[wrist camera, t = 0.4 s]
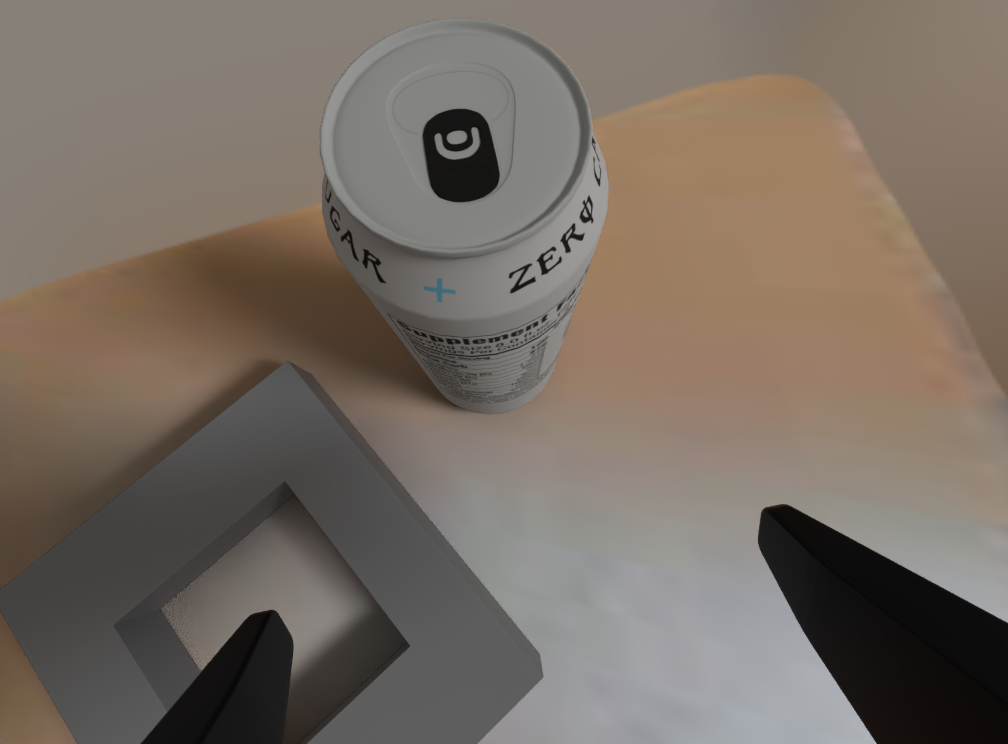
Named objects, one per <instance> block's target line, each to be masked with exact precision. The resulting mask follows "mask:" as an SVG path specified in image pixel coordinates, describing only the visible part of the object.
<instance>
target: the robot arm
mask: <svg viewBox="0 0 1008 744" xmlns="http://www.w3.org/2000/svg"><path fill="white" fill-rule="evenodd" d="M758 544H759V548H760V551H761V553H762V555H763V557H764V558H765V560H766V562H767V564H768V566H769V568H770V570H771V572H772V574H773V575H774V577H775V579H776V581H777V583H778V585H779V587H780V589H781V591H782V593H783V594H784V596H785V598H786V600H787V602H788V604H789V606H790V608H791V610H792V611H793V613H794V615H795V617H796V619H797V621H798V623H799V624H800V626H801V628H802V630H803V632H804V633H805V635H806V636H807V638H808V640H809V641H810V643H811V644H812V646H813V648H814V649H815V651H816V652H817V654H818V655H819V657H820V658H821V660H822V661H823V663H824V664H825V666H826V667H827V669H828V670H829V672H830V673H831V675H832V676H833V678H834V679H835V681H836V682H837V684H838V686H839V687H840V689H841V690H842V692H843V693H844V695H845V696H846V698H847V699H848V701H849V702H850V704H851V705H852V707H853V708H854V710H855V711H856V713H857V714H858V716H859V717H860V719H861V720H862V722H863V723H864V725H865V727H866V728H867V730H868V731H869V733H870V734H871V736H872V737H873V739H874V740H875V742H876V743H877V744H1008V623H1007V622H1005V621H1003V620H1001V619H999V618H998V617H996V616H994V615H992V614H990V613H988V612H986V611H985V610H983V609H981V608H979V607H977V606H975V605H973V604H972V603H970V602H968V601H966V600H964V599H962V598H960V597H959V596H957V595H955V594H953V593H951V592H949V591H947V590H946V589H944V588H942V587H940V586H938V585H936V584H934V583H933V582H931V581H929V580H927V579H925V578H923V577H921V576H920V575H918V574H916V573H914V572H912V571H910V570H908V569H907V568H905V567H903V566H901V565H899V564H897V563H895V562H894V561H892V560H890V559H888V558H886V557H884V556H882V555H881V554H879V553H877V552H875V551H873V550H871V549H869V548H868V547H866V546H864V545H862V544H860V543H858V542H856V541H855V540H853V539H851V538H849V537H847V536H845V535H843V534H842V533H840V532H838V531H836V530H834V529H832V528H830V527H828V526H827V525H825V524H823V523H821V522H819V521H817V520H815V519H814V518H812V517H810V516H808V515H806V514H804V513H802V512H801V511H799V510H797V509H795V508H793V507H791V506H789V505H786V504H780V505H775V506H770V507H766V508H764V509H763V510H762V512H761V518H760V525H759V533H758ZM293 649H294V647H293V639H292V636H291V634H290V632H289V631H288V629H287V627H286V626H285V624H284V622H283V621H282V619H281V617H280V616H279V614H278V613H277V612H276V611H274V610H268V611H263V612H258V613H254V614H252V615H250V616H249V617H248V618H247V619H246V620H245V621H244V622H243V623H242V624H241V625H240V627H239V628H238V629H237V630H236V631H235V633H234V634H233V635H232V636H231V637H230V638H229V640H228V641H227V642H226V643H225V644H224V646H223V647H222V648H221V649H220V650H219V651H218V653H217V654H216V655H215V656H214V657H213V659H212V660H211V661H210V662H209V663H208V664H207V666H206V667H205V668H204V669H203V670H202V672H201V673H200V674H199V675H198V676H197V677H196V679H195V680H194V681H193V682H192V683H191V685H190V686H189V687H188V688H187V689H186V690H185V692H184V693H183V694H182V695H181V696H180V697H179V699H178V700H177V701H176V702H175V703H174V705H173V706H172V707H171V708H170V709H169V710H168V712H167V713H166V714H165V715H164V716H163V718H162V719H161V720H160V721H159V722H158V723H157V725H156V726H155V727H154V728H153V729H152V731H151V732H150V733H149V734H148V735H147V736H146V738H145V739H144V740H143V741H142V742H141V744H282V743H283V736H284V729H285V720H286V711H287V703H288V694H289V685H290V676H291V668H292V659H293Z"/></svg>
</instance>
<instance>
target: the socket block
mask: <svg viewBox="0 0 1008 744" xmlns="http://www.w3.org/2000/svg"><path fill="white" fill-rule="evenodd" d="M294 495H296V496H297V498H298V499H299V500H300V501H301V503H302V504H303V505H304V507H305V508H306V509H307V511H308V512H309V513H310V515H311V516H312V517H313V519H314V520H315V521H316V523H317V524H318V525H319V526H320V528H321V529H322V530H323V532H324V533H325V534H326V536H327V537H328V538H329V540H330V541H331V542H332V544H333V545H334V546H335V548H336V549H337V550H338V551H339V553H340V554H341V555H342V557H343V558H344V559H345V561H346V562H347V563H348V565H349V566H350V567H351V569H352V570H353V571H354V572H355V574H356V575H357V576H358V578H359V579H360V580H361V582H362V583H363V584H364V586H365V587H366V588H367V590H368V591H369V592H370V594H371V595H372V596H373V597H374V599H375V600H376V601H377V603H378V604H379V605H380V607H381V608H382V609H383V611H384V612H385V613H386V615H387V616H388V617H389V619H390V620H391V621H392V622H393V624H394V625H395V626H396V628H397V629H398V630H399V632H400V633H401V634H402V636H403V637H404V638H405V640H406V641H407V642H406V643H405V644H404V645H403V646H402V647H401V648H400V649H399V650H398V651H397V652H396V653H395V654H394V655H393V656H391V657H390V658H389V659H388V660H387V661H386V662H385V663H384V664H383V665H382V666H381V667H380V668H379V669H378V670H377V671H376V672H374V673H373V674H372V675H371V676H370V677H369V678H368V679H367V680H366V681H365V682H364V683H363V684H362V685H361V686H360V687H358V688H357V689H356V690H355V691H354V692H353V693H352V694H351V695H350V696H349V697H348V698H347V699H346V700H345V701H344V702H342V703H341V704H340V705H339V706H338V707H337V708H336V709H335V710H334V711H333V712H332V713H331V714H330V715H329V716H328V717H327V718H325V719H324V720H323V721H322V722H321V723H320V724H319V725H318V726H317V727H316V728H315V729H314V730H313V731H312V732H311V733H309V734H308V735H307V736H306V737H305V738H304V739H303V740H302V741H301V742H300V743H299V744H477V743H478V742H479V741H480V740H481V739H482V738H483V737H484V736H485V735H486V734H487V733H488V732H489V731H490V730H491V729H492V728H493V727H494V726H495V725H496V724H497V723H498V722H499V721H500V720H501V719H502V718H503V717H504V716H505V715H506V714H507V713H508V712H509V711H510V710H511V709H512V708H513V707H514V706H515V705H516V704H517V703H518V702H519V701H520V700H521V699H522V698H523V697H524V696H525V695H526V694H527V693H528V692H529V691H530V690H531V689H532V688H533V687H534V686H535V685H536V684H537V683H538V682H539V681H540V680H541V679H542V678H543V671H542V665H541V659H540V654H539V653H538V651H537V650H536V649H535V648H534V646H533V645H532V644H531V643H530V642H529V640H528V639H527V638H526V637H525V635H524V634H523V633H522V632H521V631H520V629H519V628H518V627H517V626H516V624H515V623H514V622H513V621H512V619H511V618H510V617H509V616H508V615H507V613H506V612H505V611H504V610H503V608H502V607H501V606H500V605H499V604H498V602H497V601H496V600H495V599H494V597H493V596H492V595H491V594H490V593H489V591H488V590H487V589H486V588H485V586H484V585H483V584H482V583H481V582H480V580H479V579H478V578H477V577H476V575H475V574H474V573H473V572H472V570H471V569H470V568H469V567H468V566H467V564H466V563H465V562H464V561H463V559H462V558H461V557H460V556H459V555H458V553H457V552H456V551H455V550H454V548H453V547H452V546H451V545H450V544H449V542H448V541H447V540H446V539H445V537H444V536H443V535H442V534H441V532H440V531H439V530H438V529H437V528H436V526H435V525H434V524H433V523H432V521H431V520H430V519H429V518H428V517H427V515H426V514H425V513H424V512H423V510H422V509H421V508H420V507H419V506H418V504H417V503H416V502H415V501H414V499H413V498H412V497H411V496H410V495H409V493H408V492H407V491H406V490H405V488H404V487H403V486H402V485H401V483H400V482H399V481H398V480H397V479H396V477H395V476H394V475H393V474H392V472H391V471H390V470H389V469H388V468H387V466H386V465H385V464H384V463H383V461H382V460H381V459H380V458H379V457H378V455H377V454H376V453H375V452H374V450H373V449H372V448H371V447H370V446H369V444H368V443H367V442H366V441H365V439H364V438H363V437H362V436H361V434H360V433H359V432H358V431H357V430H356V428H355V427H354V426H353V425H352V423H351V422H350V421H349V420H348V419H347V417H346V416H345V415H344V414H343V412H342V411H341V410H340V409H339V408H338V406H337V405H336V404H335V403H334V401H333V400H332V399H331V398H330V396H329V395H328V394H327V393H326V392H325V390H324V389H323V388H322V387H321V385H320V384H319V383H318V382H317V381H316V379H315V378H314V377H313V376H312V374H310V373H309V372H307V371H305V370H303V369H301V368H300V367H298V366H296V365H294V364H293V363H291V362H289V361H286V362H285V363H284V364H282V365H281V366H280V367H279V368H277V369H276V370H275V371H274V372H272V373H271V374H270V375H269V376H267V377H266V378H265V379H264V380H262V381H261V382H260V383H259V384H257V385H256V386H255V387H253V388H252V389H251V390H250V391H248V392H247V393H246V394H245V395H243V396H242V397H241V398H240V399H238V400H237V401H236V402H235V403H233V404H232V405H231V406H230V407H228V408H227V409H226V410H225V411H223V412H222V413H221V414H220V415H218V416H217V417H216V418H215V419H213V420H212V421H211V422H210V423H208V424H207V425H206V426H205V427H203V428H202V429H201V430H200V431H198V432H197V433H196V434H195V435H193V436H192V437H191V438H190V439H188V440H187V441H186V442H185V443H183V444H182V445H181V446H180V447H178V448H177V449H176V450H175V451H173V452H172V453H171V454H169V455H168V456H167V457H166V458H164V459H163V460H162V461H161V462H159V463H158V464H157V465H156V466H154V467H153V468H152V469H151V470H149V471H148V472H147V473H146V474H144V475H143V476H142V477H141V478H139V479H138V480H137V481H136V482H134V483H133V484H132V485H131V486H129V487H128V488H127V489H126V490H124V491H123V492H122V493H121V494H119V495H118V496H117V497H116V498H114V499H113V500H112V501H111V502H109V503H108V504H107V505H106V506H104V507H103V508H102V509H101V510H99V511H98V512H97V513H96V514H94V515H93V516H92V517H91V518H89V519H88V520H87V521H86V522H84V523H83V524H82V525H80V526H79V527H78V528H77V529H75V530H74V531H73V532H72V533H70V534H69V535H68V536H67V537H65V538H64V539H63V540H62V541H60V542H59V543H58V544H57V545H55V546H54V547H53V548H52V549H50V550H49V551H48V552H47V553H45V554H44V555H43V556H42V557H40V558H39V559H38V560H37V561H35V562H34V563H33V564H32V565H30V566H29V567H28V568H27V569H25V570H24V571H23V572H22V573H20V574H19V575H18V576H17V577H15V578H14V579H13V580H12V581H10V582H9V583H8V584H7V585H5V586H4V587H3V588H2V589H0V612H1V613H2V615H3V617H4V618H5V620H6V622H7V624H8V625H9V627H10V629H11V631H12V632H13V634H14V636H15V637H16V639H17V641H18V643H19V644H20V646H21V648H22V649H23V651H24V653H25V655H26V656H27V658H28V660H29V661H30V663H31V665H32V667H33V668H34V670H35V672H36V673H37V675H38V677H39V679H40V680H41V682H42V684H43V685H44V687H45V689H46V691H47V692H48V694H49V696H50V697H51V699H52V701H53V703H54V704H55V706H56V708H57V709H58V711H59V713H60V715H61V716H62V718H63V720H64V721H65V723H66V725H67V727H68V728H69V730H70V732H71V733H72V735H73V737H74V739H75V740H76V742H77V744H141V742H142V741H143V740H144V739H145V738H146V736H147V735H148V734H149V733H150V732H151V731H152V729H153V728H154V727H155V726H156V725H157V723H158V722H159V721H160V720H161V719H162V718H163V716H164V715H165V714H166V713H167V712H168V710H169V709H170V708H171V707H172V706H173V705H174V703H175V702H176V701H177V700H178V699H179V697H180V696H181V695H182V694H183V693H184V692H185V690H186V689H187V688H188V687H189V686H190V685H191V683H192V682H193V681H194V680H195V679H196V677H197V676H198V675H199V674H200V673H201V671H200V670H199V668H198V667H197V665H196V664H195V662H194V661H193V659H192V657H191V656H190V654H189V653H188V651H187V650H186V648H185V647H184V645H183V644H182V642H181V641H180V639H179V638H178V636H177V635H176V633H175V632H174V630H173V629H172V627H171V626H170V624H169V622H168V621H167V619H166V618H165V616H164V615H163V613H162V612H161V610H160V608H162V607H163V606H164V605H165V604H166V603H168V602H169V601H170V600H171V599H172V598H173V597H175V596H176V595H177V594H178V593H179V592H180V591H182V590H183V589H184V588H185V587H186V586H188V585H189V584H190V583H191V582H192V581H193V580H195V579H196V578H197V577H198V576H199V575H201V574H202V573H203V572H204V571H205V570H206V569H208V568H209V567H210V566H211V565H212V564H213V563H215V562H216V561H217V560H218V559H219V558H221V557H222V556H223V555H224V554H225V553H226V552H228V551H229V550H230V549H231V548H232V547H234V546H235V545H236V544H237V543H238V542H239V541H241V540H242V539H243V538H244V537H245V536H246V535H248V534H249V533H250V532H251V531H252V530H254V529H255V528H256V527H257V526H258V525H259V524H261V523H262V522H263V521H264V520H265V519H267V518H268V517H269V516H270V515H271V514H272V513H274V512H275V511H276V510H277V509H278V508H280V507H281V506H282V505H283V504H284V503H285V502H287V501H288V500H289V499H290V498H291V497H292V496H294Z"/></svg>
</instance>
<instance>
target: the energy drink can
mask: <svg viewBox="0 0 1008 744" xmlns="http://www.w3.org/2000/svg"><path fill="white" fill-rule="evenodd" d="M320 155H321V159H322V163H323V167H324V171H325V175H324V179H323V185H322V199H323V200H322V212H323V216H324V221H325V225H326V229H327V234H328V237H329V239H330V241H331V243H332V245H333V248H334V250H335V252H336V254H337V256H338V258H339V260H340V261H341V263H342V264H343V265H344V266H345V268H346V269H347V270H348V272H349V273H350V274H351V276H352V277H353V278H354V280H355V281H356V282H357V284H358V285H359V286H360V287H361V289H362V290H363V291H364V293H365V294H366V295H367V297H368V298H369V299H370V301H371V302H372V303H373V305H374V306H375V307H376V309H377V310H378V311H379V312H380V314H381V315H382V316H383V318H384V319H385V320H386V322H387V323H388V324H389V326H390V327H391V328H392V330H393V331H394V332H395V334H396V335H397V336H398V337H399V339H400V340H401V341H402V343H403V344H404V345H405V347H406V348H407V349H408V351H409V352H410V353H411V355H412V356H413V357H414V358H415V360H416V361H417V362H418V364H419V365H420V366H421V368H422V369H423V370H424V372H425V373H426V374H427V376H428V377H429V378H430V380H431V381H432V382H433V383H434V385H435V386H436V387H437V389H438V390H439V391H440V392H441V394H442V395H443V396H445V397H446V398H447V399H448V400H449V401H451V402H452V403H453V404H455V405H457V406H459V407H461V408H463V409H465V410H468V411H472V412H475V413H482V414H498V413H505V412H508V411H512V410H515V409H517V408H519V407H521V406H523V405H525V404H527V403H528V402H529V401H531V400H532V399H533V398H534V397H536V396H537V395H538V394H539V393H540V391H541V390H542V389H543V388H544V386H545V385H546V384H547V382H548V380H549V378H550V376H551V374H552V372H553V369H554V366H555V363H556V360H557V357H558V355H559V352H560V349H561V346H562V343H563V340H564V337H565V334H566V332H567V329H568V326H569V323H570V320H571V317H572V314H573V311H574V309H575V306H576V303H577V300H578V297H579V294H580V291H581V289H582V286H583V283H584V280H585V277H586V274H587V271H588V268H589V266H590V263H591V260H592V257H593V254H594V251H595V248H596V246H597V243H598V240H599V237H600V234H601V230H602V227H603V224H604V220H605V217H606V213H607V205H608V190H609V185H608V178H607V172H606V166H605V161H604V158H603V156H602V153H601V150H600V148H599V145H598V143H597V140H596V138H595V135H594V134H593V126H592V120H591V113H590V107H589V103H588V101H587V98H586V96H585V93H584V91H583V88H582V86H581V83H580V82H579V80H578V79H577V78H576V76H575V75H574V73H573V72H572V70H571V69H570V67H569V66H568V64H567V63H566V62H565V61H564V60H563V59H562V58H561V57H559V55H558V54H557V53H556V52H554V51H553V50H552V49H551V48H550V47H549V46H547V45H546V44H544V43H543V42H541V41H540V40H538V39H536V38H535V37H533V36H532V35H530V34H528V33H525V32H523V31H521V30H518V29H516V28H514V27H511V26H509V25H505V24H501V23H497V22H493V21H488V20H483V19H470V18H451V19H440V20H433V21H428V22H425V23H421V24H417V25H413V26H409V27H407V28H405V29H402V30H400V31H398V32H395V33H393V34H391V35H388V36H386V37H385V38H383V39H382V40H380V41H379V42H377V43H376V44H374V45H372V46H371V47H369V48H368V49H367V50H365V51H364V52H363V53H362V54H361V55H360V56H359V57H358V58H357V59H356V60H355V61H353V62H352V63H351V64H350V65H349V66H348V68H347V69H346V70H345V72H344V73H343V74H342V76H341V77H340V79H339V80H338V81H337V83H336V84H335V86H334V88H333V90H332V93H331V94H330V96H329V99H328V101H327V103H326V105H325V109H324V113H323V118H322V122H321V126H320Z"/></svg>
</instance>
